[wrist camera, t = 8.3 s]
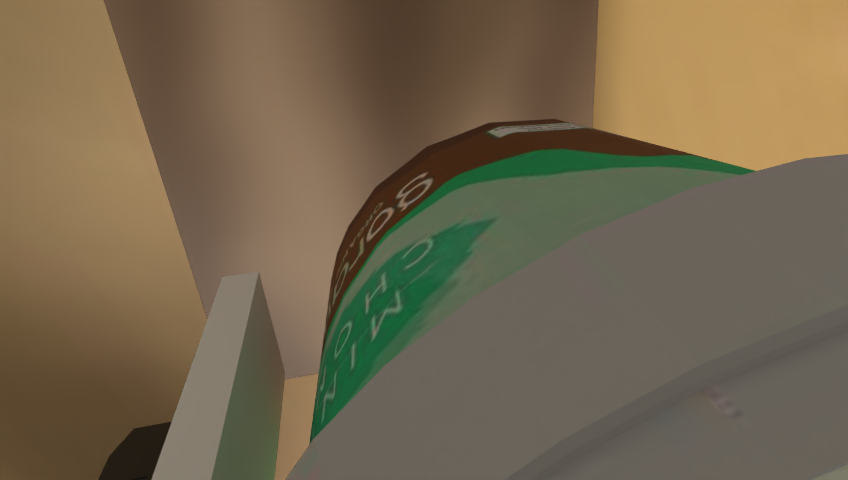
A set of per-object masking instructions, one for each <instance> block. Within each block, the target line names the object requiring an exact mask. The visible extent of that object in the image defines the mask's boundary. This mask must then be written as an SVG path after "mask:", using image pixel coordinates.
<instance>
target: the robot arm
mask: <svg viewBox="0 0 848 480" xmlns="http://www.w3.org/2000/svg"><path fill="white" fill-rule="evenodd" d="M284 379H285V369H284V365H283V361H282V358H281V354H280V350H279V346H278V342H277V339H276V335H275V331H274V327H273V323H272V320H271V316H270V312H269V308H268V304H267V300H266V297H265V293H264V289H263V285H262V281H261V278H260V274H259V272H252V273H246V274H240V275H233V276H227V277H222V280H221V283H220V286H219V288H218V291H217V294H216V297H215V300H214V303H213V306H212V308H211V311H210V314H209V317H208V320H207V323H206V326H205V328H204V331H203V334H202V337H201V340H200V343H199V345H198V348H197V351H196V354H195V357H194V360H193V363H192V365H191V368H190V371H189V374H188V377H187V380H186V383H185V385H184V388H183V391H182V394H181V397H180V400H179V402H178V405H177V408H176V411H175V414H174V417H173V420H172V422H168V423H162V424H157V425H152V426H146V427H141V428H136V429H133V431H132V432H131V433H130V434H129V435H128V436H127V437H126V438H125V439H124V441H123V442H122V443H121V444H120V445H119V446H118V447H117V448H116V449H115V451H114V452H113V453H112V454H111V455H110V456H109V458H108V460H107V462H106V464H105V467H104V469H103V471H102V473H101V475H100V478H99V480H274V478H275V468H276V458H277V449H278V439H279V429H280V419H281V409H282V399H283V389H284Z"/></svg>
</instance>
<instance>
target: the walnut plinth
mask: <svg viewBox="0 0 848 480" xmlns="http://www.w3.org/2000/svg"><path fill="white" fill-rule="evenodd" d="M104 2H105V5H106V8H107V11H108V14H109V18H110V21H111V24H112V27H113V30H114V33H115V36H116V39H117V42H118V45H119V48H120V51H121V54H122V58H123V61H124V64H125V67H126V70H127V73H128V76H129V79H130V82H131V85H132V88H133V91H134V94H135V98H136V101H137V104H138V107H139V110H140V113H141V116H142V119H143V122H144V125H145V128H146V131H147V134H148V138H149V141H150V144H151V147H152V150H153V153H154V156H155V159H156V162H157V165H158V168H159V171H160V174H161V178H162V181H163V184H164V187H165V190H166V193H167V196H168V199H169V202H170V205H171V208H172V211H173V214H174V217H175V221H176V224H177V227H178V230H179V233H180V236H181V239H182V242H183V245H184V248H185V251H186V254H187V257H188V261H189V264H190V267H191V270H192V273H193V276H194V279H195V282H196V285H197V288H198V291H199V294H200V297H201V301H202V304H203V307H204V310H205V313H206V316H207V319H208V317H209V314H210V311H211V308H212V306H213V303H214V300H215V297H216V294H217V291H218V288H219V286H220V283H221V280H222V277H227V276H233V275H240V274H246V273H252V272H259V274H260V278H261V281H262V285H263V289H264V293H265V297H266V300H267V304H268V308H269V312H270V316H271V320H272V323H273V327H274V331H275V335H276V339H277V342H278V346H279V350H280V354H281V358H282V361H283V365H284V369H285V379H290V378H296V377H301V376H307V375H312V374H318V373H319V369H320V361H321V354H322V346H323V338H324V331H325V323H326V316H327V308H328V301H329V293H330V285H331V278H332V274H333V269H334V265H335V260H336V256H337V252H338V250H339V247H340V245H341V243H342V240H343V238H344V235H345V233H346V231H347V228H348V226H349V225H350V223H351V222H352V220H353V219H354V217H355V216H356V215H357V213H358V212H359V210H360V209H361V207H362V206H363V204H364V203H365V202H366V200H367V199H368V197H369V196H370V194H371V193H372V191H373V190H374V189H375V187H376V186H377V185H379V184H380V183H381V182H382V181H384V180H385V179H386V178H388V177H389V176H390V175H391V174H393V173H394V172H395V171H396V170H398V169H399V168H400V167H401V166H403V165H404V164H405V163H406V162H408V161H409V160H410V159H411V158H413V157H414V156H415V155H417V154H418V153H419V152H420V151H422V150H423V149H424V148H425V147H427V146H429V145H432V144H435V143H437V142H440V141H442V140H445V139H448V138H450V137H453V136H455V135H458V134H461V133H463V132H466V131H468V130H471V129H474V128H476V127H479V126H481V125H484V124H487V123H490V122H507V121H524V120H541V119H557V120H561V121H565V122H569V123H573V124H577V125H581V126H585V127H590V128H592V125H593V104H594V83H595V62H596V41H597V20H598V0H104ZM285 379H284V380H285Z"/></svg>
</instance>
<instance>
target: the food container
mask: <svg viewBox="0 0 848 480" xmlns="http://www.w3.org/2000/svg"><path fill="white" fill-rule="evenodd" d="M285 480H848V154H844V155H834V156H825V157H815V158H806V159H801V160H797V161H794V162H790V163H786V164H782V165H778V166H775V167H771V168H767V169H763V170H759V171H754V170H750V169H746V168H742V167H739V166H735V165H731V164H727V163H723V162H720V161H716V160H712V159H708V158H704V157H701V156H697V155H693V154H689V153H685V152H682V151H678V150H674V149H670V148H666V147H662V146H659V145H655V144H651V143H647V142H643V141H640V140H636V139H632V138H628V137H624V136H621V135H617V134H613V133H609V132H605V131H601V130H598V129H594V128H590V127H585V126H581V125H577V124H573V123H569V122H565V121H561V120H557V119H541V120H524V121H507V122H490V123H487V124H484V125H481V126H479V127H476V128H474V129H471V130H468V131H466V132H463V133H461V134H458V135H455V136H453V137H450V138H448V139H445V140H442V141H440V142H437V143H435V144H432V145H429V146H427V147H425V148H424V149H423V150H422V151H420V152H419V153H418V154H417V155H415V156H414V157H413V158H411V159H410V160H409V161H408V162H406V163H405V164H404V165H403V166H401V167H400V168H399V169H398V170H396V171H395V172H394V173H393V174H391V175H390V176H389V177H388V178H386V179H385V180H384V181H382V182H381V183H380V184H379V185H377V186H376V187H375V189H374V190H373V191H372V193H371V194H370V196H369V197H368V199H367V200H366V202H365V203H364V204H363V206H362V207H361V209H360V210H359V212H358V213H357V215H356V216H355V217H354V219H353V220H352V222H351V223H350V225H349V226H348V228H347V231H346V233H345V235H344V238H343V240H342V243H341V245H340V247H339V250H338V252H337V256H336V260H335V265H334V269H333V274H332V278H331V285H330V293H329V301H328V308H327V316H326V323H325V331H324V338H323V346H322V354H321V361H320V369H319V376H318V384H317V392H316V399H315V407H314V414H313V422H312V430H311V437H310V445H309V446H308V448H307V449H306V451H305V452H304V453H303V455H302V456H301V458H300V459H299V461H298V462H297V464H296V465H295V466H294V468H293V469H292V471H291V472H290V474H289V475H288V476H287V478H286V479H285Z"/></svg>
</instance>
